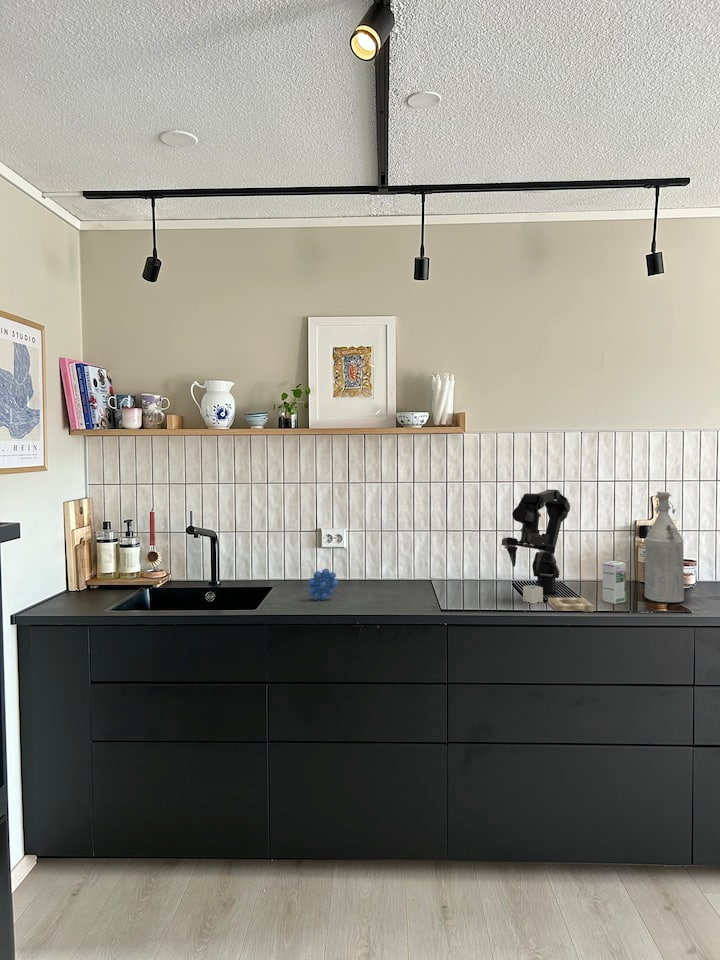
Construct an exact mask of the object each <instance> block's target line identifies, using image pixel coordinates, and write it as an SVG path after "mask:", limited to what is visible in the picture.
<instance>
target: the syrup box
mask: <svg viewBox="0 0 720 960" xmlns="http://www.w3.org/2000/svg"><path fill="white" fill-rule="evenodd" d="M601 565H602V601H604V602H606V603H610V604H615V605H616V604H620V603H626V602H627V575H626V573H627V570H626V569H627V566H626V565H627V564H626V562H623V561H619V560H618V561H617V560H611V561H606V562H605V561H604V562H602V564H601Z"/></svg>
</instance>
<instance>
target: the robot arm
mask: <svg viewBox="0 0 720 960" xmlns="http://www.w3.org/2000/svg"><path fill="white" fill-rule="evenodd" d="M570 504H571V503H570V502H569V500H568V498H567V497H566V496H564V494H561V492H560V490H558V489H546V490H544V491H540V492H539V493H524V494H523V496H522V497H521V499H520V501H519V503H518V505H517V507H515V508H514V509H513V510H512V518H513V520H514V521H515V522H518V523H520V524H522V527H521V528H520V532H521V536H520V539H519V540H518V538H515V537H510V536H507V537H503V538H502V540H501V546H503V547H504V549H507V553H508V556H509V559H510V562H511V565H512V567H513V568H514V567H516V563H517V562H516V561H517V550H518V547H522V548H527V549H533V550H538V551H537V552H536V553H535V554H534V559H533V561H532V573H533V577H534V578H535V577H537V578H536V586H539V587H543V595H551V594H552V595H553V594H559V591H557V590H556V589H557V588H556V586H557V585H556V584H557V583H556V579H559V578H560V569H559V568H558V565H557V560H556V557H555V553H556V546H557V542H558V539H559V533H560V530H561V529H560V528H561V525H562V523H563V521H565V519H567V517H568V515H569V512H570V510H571V505H570ZM544 507H545V509H546V513H547V516H548V518H549V519H548V522H547V527H546V531H545V533H541V534H540V529H539V526H540V525H539V523H540V517H542V515H541V513H540V512H539V511H540V510H542V509H543V508H544Z"/></svg>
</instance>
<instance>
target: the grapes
mask: <svg viewBox="0 0 720 960" xmlns="http://www.w3.org/2000/svg"><path fill="white" fill-rule="evenodd" d="M336 577H337V575H336V572H334V571H332V572H331V571H330V570H329V569H328V568H324V569H322V570H321V571H320V570H317V571H315V572H314V573H313V577H311V578H309V579H308V581H307V584H308V585H309V587H308V588H307V593H308V594H309V595H311V597H312V599H313V600H315V601H316V600H319V599H320V600H321V601H325V600H327V598H328V597H329V596H333V594H335V592H336V589H335V588H336V587H337V586H338V584H339V581H338V579H336Z"/></svg>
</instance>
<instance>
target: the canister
mask: <svg viewBox="0 0 720 960" xmlns="http://www.w3.org/2000/svg"><path fill="white" fill-rule="evenodd" d="M670 497H672V495H671V494H670V492H667V491H657V492H656V495H655V498H654V501H657V500H658V504H657V506H656V507H654V511H655V513H656V514H657V517H656V519H655V520H654V522H653V524H652V526H651V527H650V529H649V532H648V533H647V535H646V537H645V538H644V540H645V541H644V542H645V543H644V597H645V598H646V599H648V600H650V601H653V602H658V603H682V602H684V601H685V593H684V592H685V588H684V587H685V585H684V583H685V582H684V581H685V580H684V579H685V572H684V571H685V569H684V568H685V566H684V562H685V560H684V559H685V558H684V548H685V547H684V544H685V543H684V541H685V540H684V538H683V537H682V535H681V534H680V532H679V529H678V528H677V527H676V525H675V523H674V522H673V519H672V517H671V515H670V514H669V511H670V509H671V510H672V511H671V512H672V514H675V512H676V511H677V509H676V508H674V504H673V503H672V502H670V501H669V499H670ZM656 499H657V500H656ZM670 505H671V506H672V507H671V506H670Z"/></svg>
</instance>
